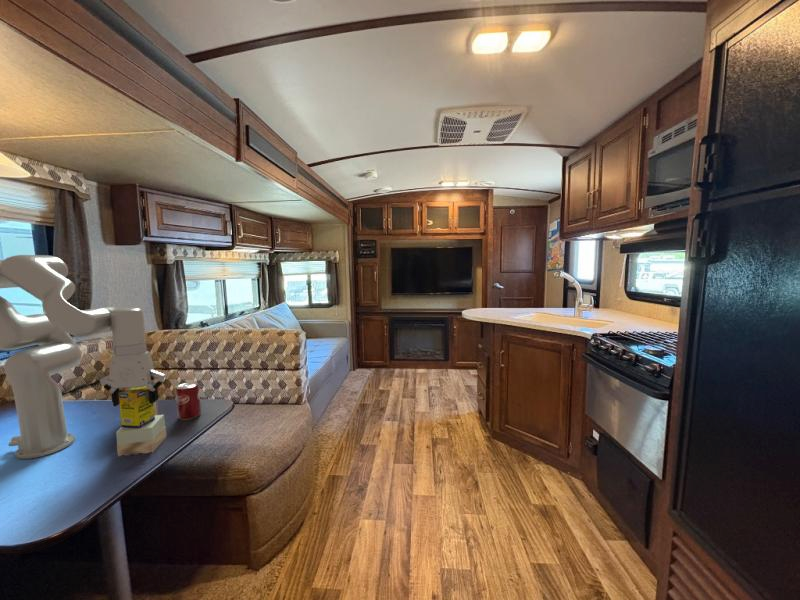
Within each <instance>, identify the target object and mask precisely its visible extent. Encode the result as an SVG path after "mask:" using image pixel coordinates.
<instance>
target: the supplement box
mask: <svg viewBox="0 0 800 600" xmlns="http://www.w3.org/2000/svg"><path fill="white" fill-rule="evenodd" d="M149 391H150V389H148V388H147V387H146V386H144V387H135V388H127V389H125V390H124V391H122V392H120V393H119V402H120V404H119V411H120V412H119V413H120V421H121V427H126V428H140V427H142V426H143V425H145V424H147V423H149V422H151V421H153V420H155V413H154V403H153V404H150V403H149Z"/></svg>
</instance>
